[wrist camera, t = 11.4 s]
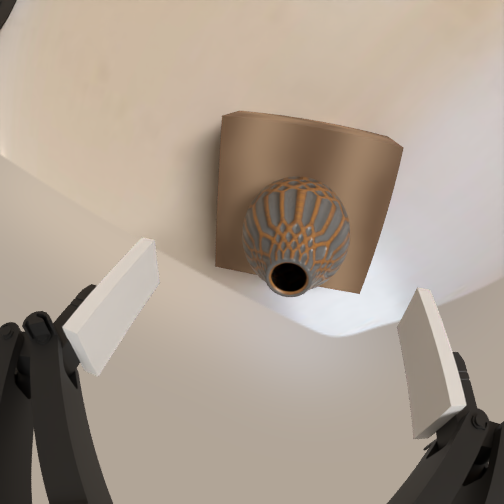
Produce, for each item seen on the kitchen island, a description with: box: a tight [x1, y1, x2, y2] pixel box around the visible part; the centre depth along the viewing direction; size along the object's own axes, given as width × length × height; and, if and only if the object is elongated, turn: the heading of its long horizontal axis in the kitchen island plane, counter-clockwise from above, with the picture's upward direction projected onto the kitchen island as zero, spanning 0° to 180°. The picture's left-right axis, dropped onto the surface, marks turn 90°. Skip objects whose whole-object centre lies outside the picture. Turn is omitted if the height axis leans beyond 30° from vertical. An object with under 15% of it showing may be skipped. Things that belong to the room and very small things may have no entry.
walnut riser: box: [215, 111, 403, 294], centre depth 24 cm, size 13×13×5 cm
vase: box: [242, 176, 350, 297], centre depth 18 cm, size 7×7×9 cm
